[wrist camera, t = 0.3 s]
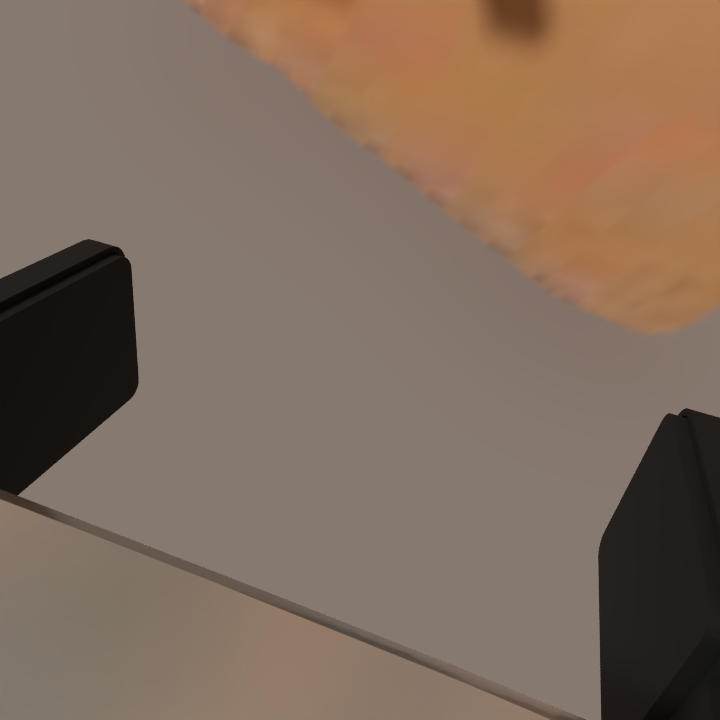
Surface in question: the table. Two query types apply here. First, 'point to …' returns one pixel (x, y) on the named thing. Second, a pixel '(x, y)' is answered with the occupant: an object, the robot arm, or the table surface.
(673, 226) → the table surface
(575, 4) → the table surface
